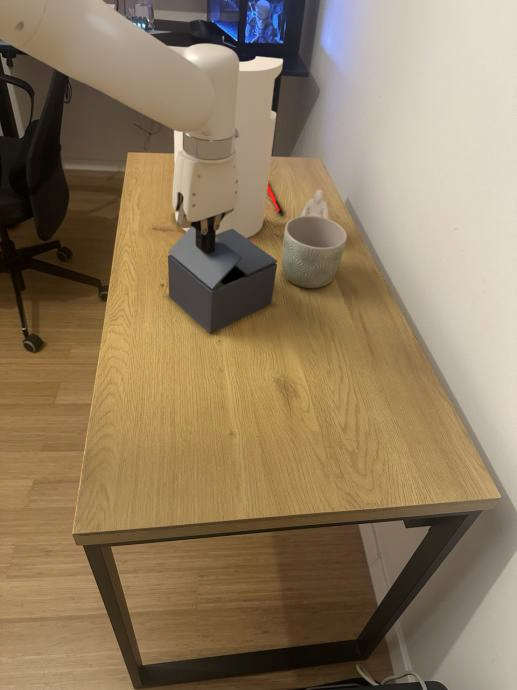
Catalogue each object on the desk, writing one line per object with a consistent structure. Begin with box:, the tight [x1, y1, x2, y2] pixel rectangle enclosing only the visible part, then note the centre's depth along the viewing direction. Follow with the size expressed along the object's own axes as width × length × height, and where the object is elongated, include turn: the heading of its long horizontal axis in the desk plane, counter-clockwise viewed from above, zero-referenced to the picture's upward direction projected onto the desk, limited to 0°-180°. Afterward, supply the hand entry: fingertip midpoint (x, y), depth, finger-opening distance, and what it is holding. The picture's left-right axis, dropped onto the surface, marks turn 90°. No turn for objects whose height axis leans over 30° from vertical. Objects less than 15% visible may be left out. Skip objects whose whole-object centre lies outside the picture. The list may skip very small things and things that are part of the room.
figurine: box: [299, 188, 329, 219], centre depth 111 cm, size 8×8×12 cm
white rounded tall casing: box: [173, 55, 284, 239], centre depth 104 cm, size 35×11×21 cm
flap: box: [167, 227, 242, 290], centre depth 86 cm, size 7×13×1 cm
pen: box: [267, 183, 283, 217], centre depth 129 cm, size 1×19×1 cm, turn 13°
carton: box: [167, 229, 278, 335], centre depth 94 cm, size 15×13×10 cm
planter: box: [281, 214, 348, 289], centre depth 102 cm, size 12×12×11 cm
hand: (205, 249), depth 86 cm, fingers closed
